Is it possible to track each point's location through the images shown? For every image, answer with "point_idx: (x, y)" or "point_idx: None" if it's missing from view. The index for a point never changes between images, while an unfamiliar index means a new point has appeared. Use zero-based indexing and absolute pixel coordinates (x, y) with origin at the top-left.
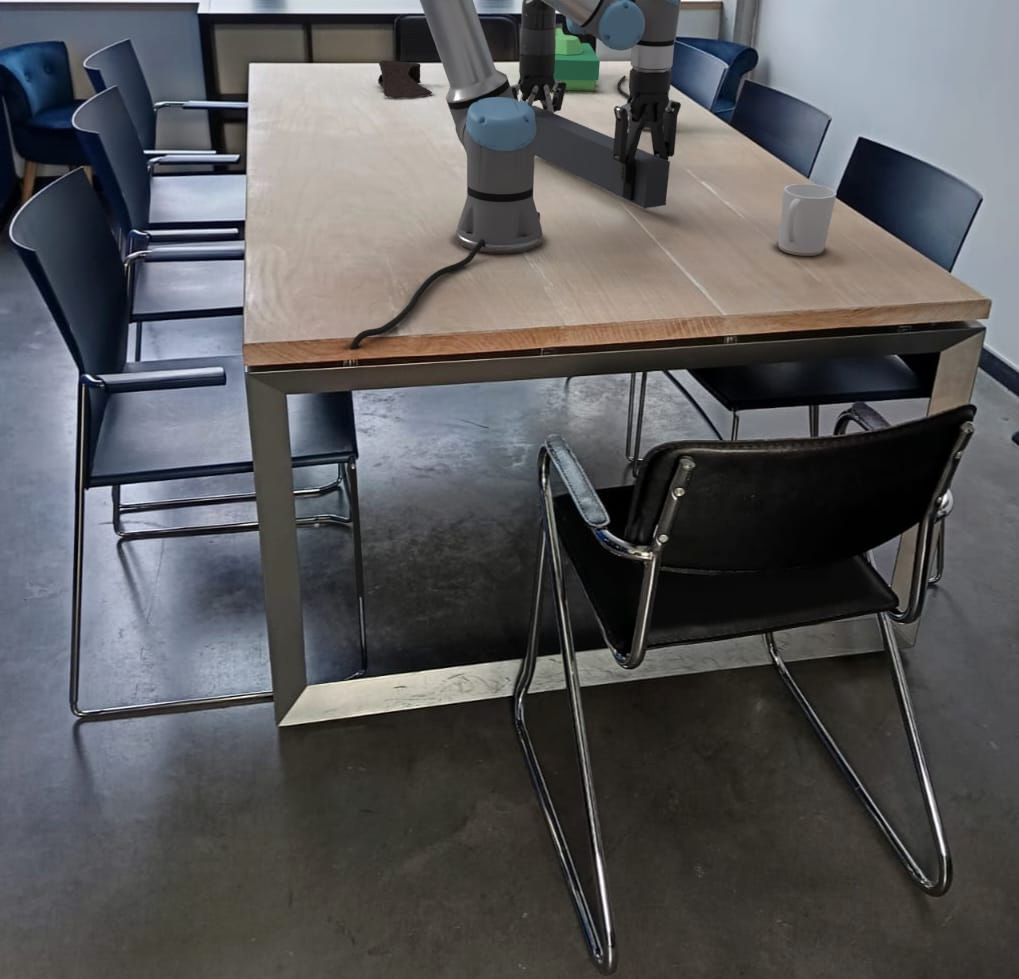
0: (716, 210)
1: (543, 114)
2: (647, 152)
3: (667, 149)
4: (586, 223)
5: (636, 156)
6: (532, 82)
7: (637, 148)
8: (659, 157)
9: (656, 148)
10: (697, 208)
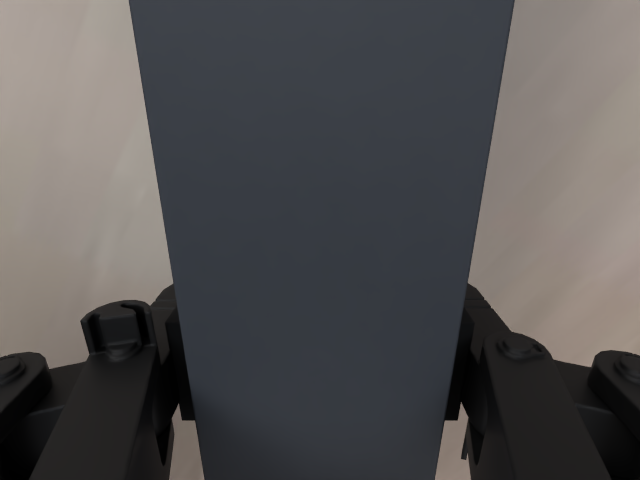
0: (609, 315)
1: None
2: (455, 317)
3: (617, 453)
4: (57, 242)
5: (257, 385)
6: None
7: (482, 122)
8: (430, 474)
9: (486, 472)
10: (572, 269)
